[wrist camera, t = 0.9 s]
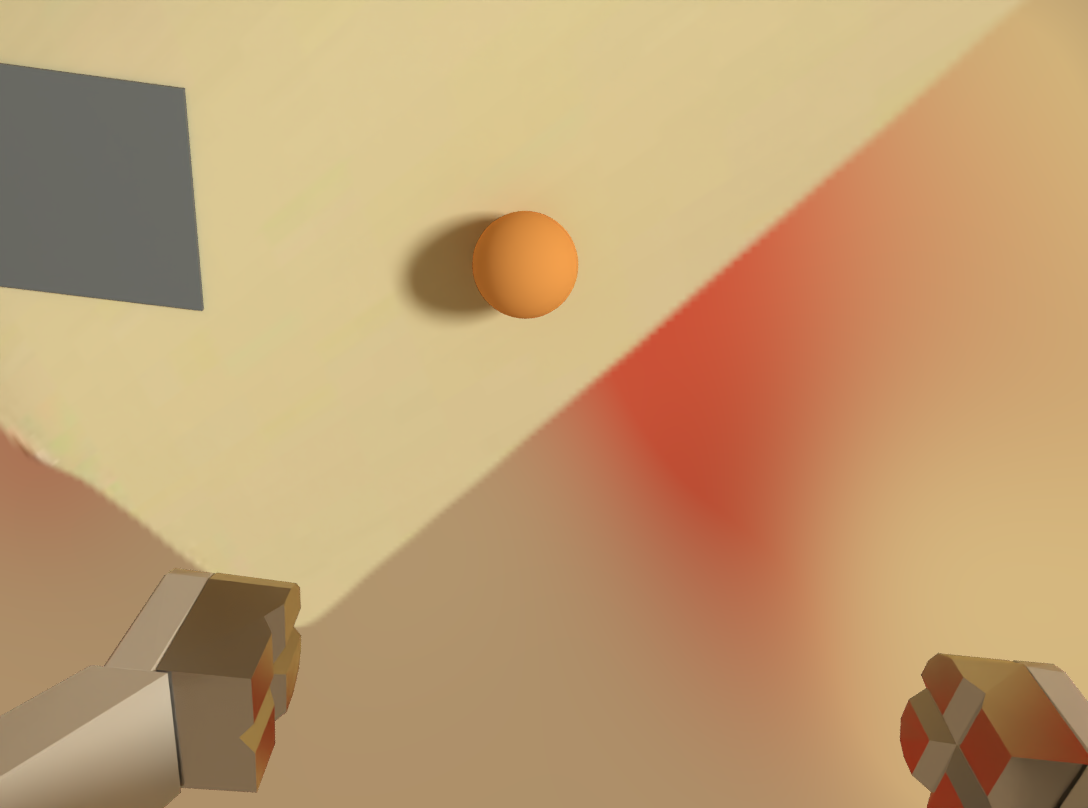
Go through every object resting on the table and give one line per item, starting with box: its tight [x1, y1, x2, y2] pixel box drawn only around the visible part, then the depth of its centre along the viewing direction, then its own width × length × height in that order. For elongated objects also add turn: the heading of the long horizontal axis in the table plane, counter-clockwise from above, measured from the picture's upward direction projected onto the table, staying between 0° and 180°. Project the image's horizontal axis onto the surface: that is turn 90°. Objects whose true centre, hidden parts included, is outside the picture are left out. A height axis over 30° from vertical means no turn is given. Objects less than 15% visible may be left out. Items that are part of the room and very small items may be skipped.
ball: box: [472, 211, 578, 319], centre depth 41 cm, size 6×6×6 cm
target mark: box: [0, 63, 204, 311], centre depth 42 cm, size 12×12×1 cm
